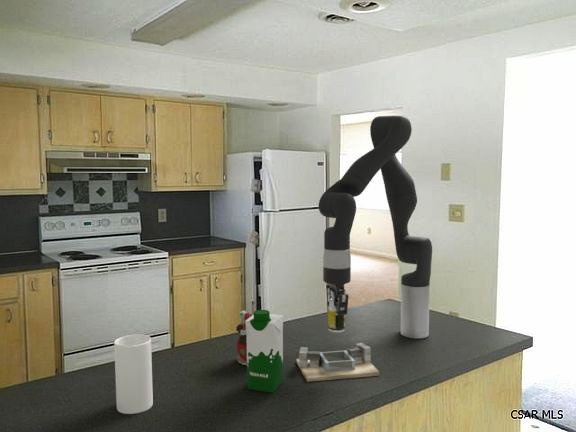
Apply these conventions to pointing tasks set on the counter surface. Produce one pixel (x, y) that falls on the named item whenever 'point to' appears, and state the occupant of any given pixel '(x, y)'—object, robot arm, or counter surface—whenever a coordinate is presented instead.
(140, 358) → the cup
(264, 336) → the milk carton
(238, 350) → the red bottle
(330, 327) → the supplement bottle
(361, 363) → the shaft bench
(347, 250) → the robot arm
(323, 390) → the counter surface
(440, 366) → the counter surface
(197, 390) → the counter surface
